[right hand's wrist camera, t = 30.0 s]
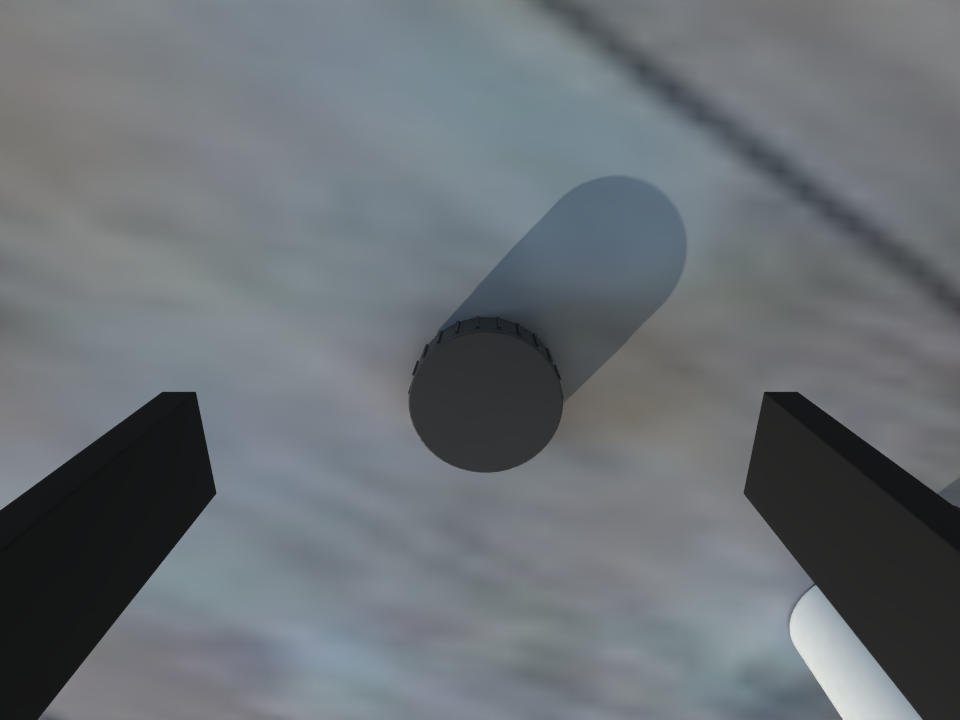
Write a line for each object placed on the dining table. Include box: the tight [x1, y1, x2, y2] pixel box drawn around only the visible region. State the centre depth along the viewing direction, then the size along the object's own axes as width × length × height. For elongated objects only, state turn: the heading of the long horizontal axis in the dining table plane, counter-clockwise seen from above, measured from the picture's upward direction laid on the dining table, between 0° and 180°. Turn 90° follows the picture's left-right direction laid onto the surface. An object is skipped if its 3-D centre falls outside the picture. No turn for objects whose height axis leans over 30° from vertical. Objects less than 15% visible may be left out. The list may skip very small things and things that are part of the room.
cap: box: [408, 316, 563, 473], centre depth 17 cm, size 5×5×2 cm
